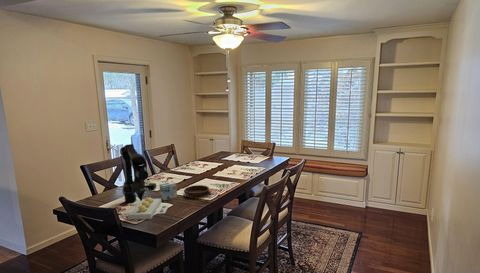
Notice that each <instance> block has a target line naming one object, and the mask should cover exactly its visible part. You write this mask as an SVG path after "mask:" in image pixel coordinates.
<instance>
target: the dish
mask: <svg viewBox="0 0 480 273" xmlns="http://www.w3.org/2000/svg"><path fill="white" fill-rule="evenodd" d="M209 190H210V187H209V186H207V185H203V184H202V185H200V184H198V185H197V184H196V185H190V186H188V187H185V188H184V190H183V192H184V194H185V195H186V196H187V198H191V199H197V198H203V197H204V196H211V191H209Z"/></svg>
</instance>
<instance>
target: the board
mask: <svg viewBox="0 0 480 273" xmlns="http://www.w3.org/2000/svg"><path fill="white" fill-rule="evenodd" d="M144 201H145V198H143V199H142V201H140V200H139V201H138V202H137V203H136V205H134V207H133V208H132V209H131V211H129V213H127V220H129V221H130V219H134V220H151V219H153V217H154V215H155V214H156V213H157V212H158V210H159V208H160V207H161V204H162V199H161V198H152V203H149V207H148V208H146V211H145V212H139V209H138V207H139V206H141V205H142V202H144Z"/></svg>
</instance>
